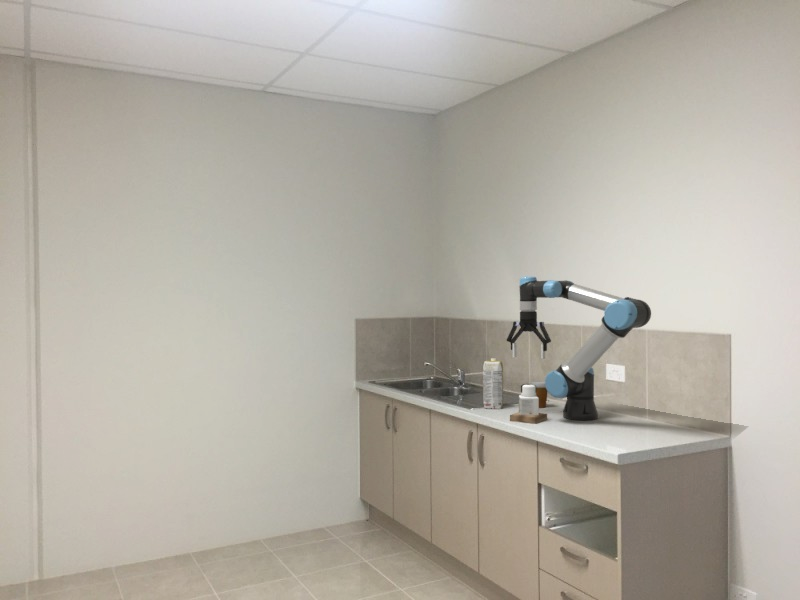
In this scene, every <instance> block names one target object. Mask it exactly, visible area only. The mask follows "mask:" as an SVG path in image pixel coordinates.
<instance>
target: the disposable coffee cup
mask: <svg viewBox="0 0 800 600" xmlns="http://www.w3.org/2000/svg"><path fill="white" fill-rule="evenodd" d="M529 384H534V385H535V386H536V396H537V397H538V398H539V409H545V408H546V407H547V400H548V391H547V389H546V387H545V381H540V380H539V381H538V380H536V381H530V382H529Z"/></svg>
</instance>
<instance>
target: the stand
mask: <svg viewBox="0 0 800 600" xmlns="http://www.w3.org/2000/svg"><path fill="white" fill-rule="evenodd" d="M547 420H548V413H544V412H543V413H542V412H539V415H521V414H520V413H519V411H518V412H515V413H512V414H509V421H510V422H519V423H525V424H535V425H536V424H538V423H542V422H544V421H547Z"/></svg>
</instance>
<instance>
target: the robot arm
mask: <svg viewBox="0 0 800 600" xmlns="http://www.w3.org/2000/svg"><path fill="white" fill-rule="evenodd" d="M537 279H538V278H537V277H536V276H521V277H520V279H519V310H520V312H519V321H518V320H516V321H513V322H512V327H511V330H510V331H509V334H508V336H507V338H506V342H509V343H510V350H511V351H512V358H517V342H516V341H517V340H518V338H519V337H520V336H521V335H522V333H524V332H526V333H527V332H531V333H532V332H533V333H534V334H535V336H536V337H537V338H538V339H539V340H540V342H541V345H540V354H541V355H540V356H541V357H540V358H541V359H542V360H543V359H546V352H547V350H548V344H549V343H551V342H552V340H551V337H550V335H549V333H548V332H547V328H546V327H545V322H544V321H539V322H538V312H537V309H538V307H537V306H538V305H537V303H538V301H537V300H538V299H539V298H541V299H543V298H544V299H545V298H547V299H555V298H562V299H566V300H569V301H573V302H575V303H578V304H582V305H585V306H588V307H591V308H595V309H597V310H600V311H603V316H602V318H601V324H600V326H599V327H598V328H597V329H596V330H595V331H594V332H593V334H592V335H591V336H590V337H589V338H588V339H587V340H586V341H585V342H584V344H583V345H582V346H581V347H580V348H579V349H578V350H577V352H576V353H575V354H574V355H573V356H572V357H571V359H569V361H563V362H562V363H561V364H560V365H559V366H558V367H557V368H556V370H551V371H550V372H548V373H547V374H546V375H545V377H544V378H545V379H544V382H545V387H546V389H547V391H548V392H547V394H549V395H550V396H551V397H553V398H555V399H564V398H566V401H565V404H564V408H563V410H562V417H563V418H565V419H569V420H576V421H592V420H593V421H594V420H597V419H599V412H598V409H597V406H596V402H595V390H594V389H595V374H594V368H593V367H594V365H595V364H596V363H597V362H598V361H599V360H600V359H601V358H602V357H603V356H604V354H605V353H606V352H607V351H609V349H610V348H611V346H613V345H614V344H615V342H616V341H617V340H618V339H619V338H620V339H624V338H625V337H626V336H628V334H629V333H630V332H631V331H632V330H633V329H638V328H642V327H644V326H646V325H647V324H648V323H649V322H650V320H651V317H652V309H651V308H650V305H649V304H648V303H647V302H646V301H644V300H641V299H636V298H632V297H629V296H626V297H624V298H623V297H620V296H617V295H613V294H611V293H606V292H603V291H599V290H596V289H594V288H590V287H586V286H584V285H579V284H577V283H575V282H573V281H570V280H553V279H550V280H537ZM537 298H538V299H537ZM519 326H520V328H519V329H518V331H517V332H516V330H517V328H518V327H519ZM537 327H539V328H540V330H541V332H540V331H539V329H538V328H537ZM541 333H542V334H541Z"/></svg>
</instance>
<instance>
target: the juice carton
mask: <svg viewBox="0 0 800 600" xmlns="http://www.w3.org/2000/svg"><path fill="white" fill-rule="evenodd" d="M482 366H483V367H482V403H483V407H484V409H485V408H492V409H491V410H501V409H502V407H503V404H504V366H503V361H502V360H497V358H495V357H494V358H490V360H487V359H486V360H484V361H483V365H482Z"/></svg>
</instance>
